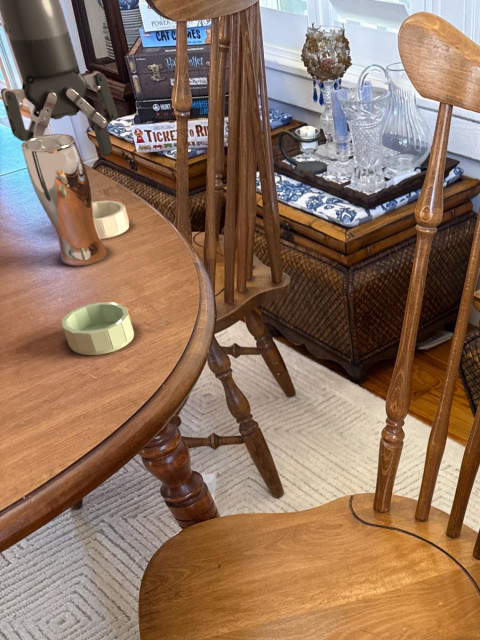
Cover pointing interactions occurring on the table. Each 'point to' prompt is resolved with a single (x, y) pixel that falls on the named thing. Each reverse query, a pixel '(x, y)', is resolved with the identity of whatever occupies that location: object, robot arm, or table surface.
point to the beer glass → (65, 196)
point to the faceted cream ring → (110, 218)
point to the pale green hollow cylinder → (98, 328)
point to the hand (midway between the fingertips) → (77, 161)
